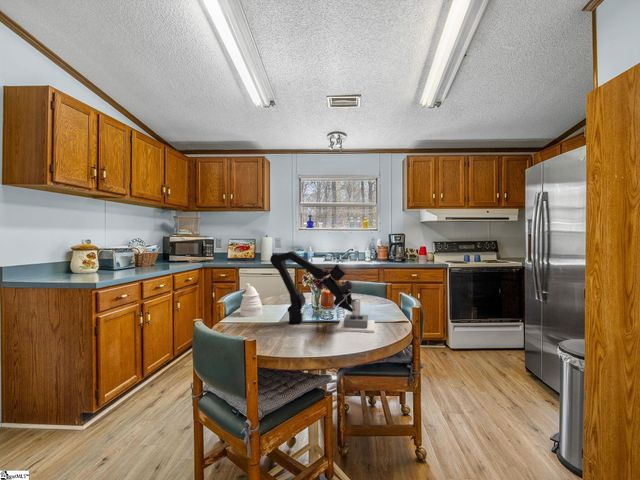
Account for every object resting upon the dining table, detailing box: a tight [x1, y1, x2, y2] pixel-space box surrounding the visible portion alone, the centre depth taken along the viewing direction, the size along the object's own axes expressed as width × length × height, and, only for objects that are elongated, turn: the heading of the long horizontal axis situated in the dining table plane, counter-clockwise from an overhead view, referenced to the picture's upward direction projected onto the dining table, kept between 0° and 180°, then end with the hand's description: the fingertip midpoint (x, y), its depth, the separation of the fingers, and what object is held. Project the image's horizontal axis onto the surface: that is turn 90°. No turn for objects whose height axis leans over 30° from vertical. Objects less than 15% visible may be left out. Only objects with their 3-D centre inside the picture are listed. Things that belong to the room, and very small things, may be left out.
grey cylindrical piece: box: [350, 298, 362, 320], centre depth 166 cm, size 4×4×12 cm
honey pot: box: [239, 283, 263, 318], centre depth 195 cm, size 13×13×18 cm
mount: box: [336, 313, 376, 333], centre depth 166 cm, size 18×18×4 cm
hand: (354, 309), depth 166 cm, fingers open, 9 cm apart
